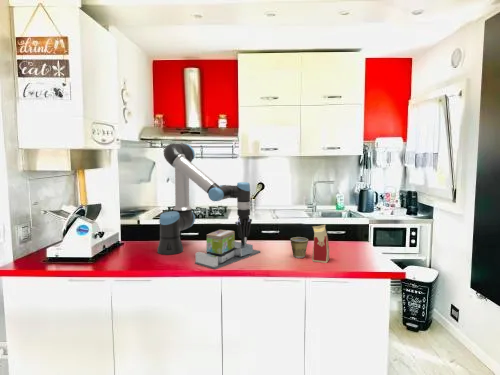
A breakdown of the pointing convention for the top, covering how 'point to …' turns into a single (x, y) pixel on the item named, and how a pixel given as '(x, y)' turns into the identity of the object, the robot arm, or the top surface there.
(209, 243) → the tea box
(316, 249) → the paper coffee bag
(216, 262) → the vise
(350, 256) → the top surface
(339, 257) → the top surface
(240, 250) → the free jaw
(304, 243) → the ceramic cup
